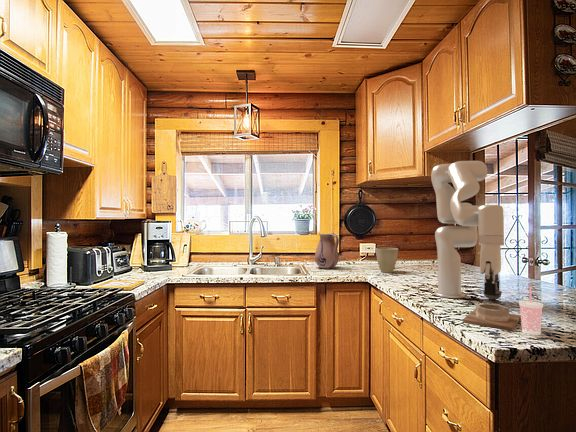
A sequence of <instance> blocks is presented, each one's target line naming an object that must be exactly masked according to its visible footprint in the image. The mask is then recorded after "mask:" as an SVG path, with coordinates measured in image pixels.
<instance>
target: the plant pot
mask: <svg viewBox="0 0 576 432" xmlns="http://www.w3.org/2000/svg"><path fill="white" fill-rule="evenodd" d="M374 250H375V256H376V259H377V264H378V267H379V270H380V272H381V273H383V274H384V273H385V274H392V273H393V272H394V269H395V267H396V263H397V260H398V254H399V248H396V247H375V249H374Z"/></svg>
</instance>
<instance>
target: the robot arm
mask: <svg viewBox="0 0 576 432" xmlns="http://www.w3.org/2000/svg"><path fill="white" fill-rule="evenodd" d="M487 175H488V167H487V165H486V163H485V162H483V161H481V160H458V161H455V162H452V163H441V164H438V165H437V164H436V165H435V166H434V167H432V169H431V176H430V177H431V183H432V188H433V190H434V193H435V200H436V212H437V220H438V222H440V223H442V224H457V225H446V226H440V227H438V228H437V229H436V230H435V232H434V238H435V243H436V245H435V246H436V252H437V290H436V291H434V295H435V296H437V297H441V298H445V299H463V298H466V294H465V292H462V268H461V267H462V266H461V264H462V263H461V262H462V261H461V260H462V259H461V255H460V253H459V252H458V251H457V249H456V248H471V247H472V248H473V247H475V246H476V245H477V244H478V245H479V246H480V255H479V273H480V274H482V275H483V274H484V280H483V281H484V283H483V284H484V285H483V288H484V289H483V290H484V291H485V295H493V296H495V295H496V284H495V283H494V282H495V275H496V274H497V280H498V281H497V288H498V290H499V291H501V290H500V276H499V273H501V270H502V253H501V251H502V249H501V247H502V246H505V232H504V231H505V227H504V222H505V221H504V207H503V206H502V205H500V204H484V205H479V204H477V205H473V204H472V203H470V202H463V201H465V200H468V199H470V198H472V197H474V196H475V195H477V194H478V193H479V191H480V189H481V188H480V186H481V185H480V183H479V182H482V181H484V180H485V179H486V177H487ZM449 183H452V185H453V186H452V185H451V184H449ZM458 225H459V226H458ZM490 273H493V274H490ZM491 276H492V277H491Z"/></svg>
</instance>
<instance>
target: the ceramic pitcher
mask: <svg viewBox="0 0 576 432" xmlns="http://www.w3.org/2000/svg"><path fill="white" fill-rule="evenodd" d="M318 236H319V240H318V244H317V246H316V250H315V253H314V262H315V263H316V265H317V266H318V267H319V268H321V269H327V270H328V269H330V270H331V269H334V268H335V267H336V266H337V264H338V263H339V260H340V259H339V258H340V257H339V251H338V247H339V243H340V242H339V241H340V239H339V236H338V235H337V234H333V233H326V234H325V233H320V234H318Z"/></svg>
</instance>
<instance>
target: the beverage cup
mask: <svg viewBox="0 0 576 432" xmlns="http://www.w3.org/2000/svg"><path fill="white" fill-rule="evenodd" d="M532 296H533V295H532V286H530V285H529V300H519V301H518V305H519V313H520V314H519V315H521V319H520V323H521V332H523V333H524V334H527V335H531V336H540V335H541V334H542V318H543V316H542V315H543V308H544V304H543V303H542V302H539V301H534V300H532V299H533V298H532Z"/></svg>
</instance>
